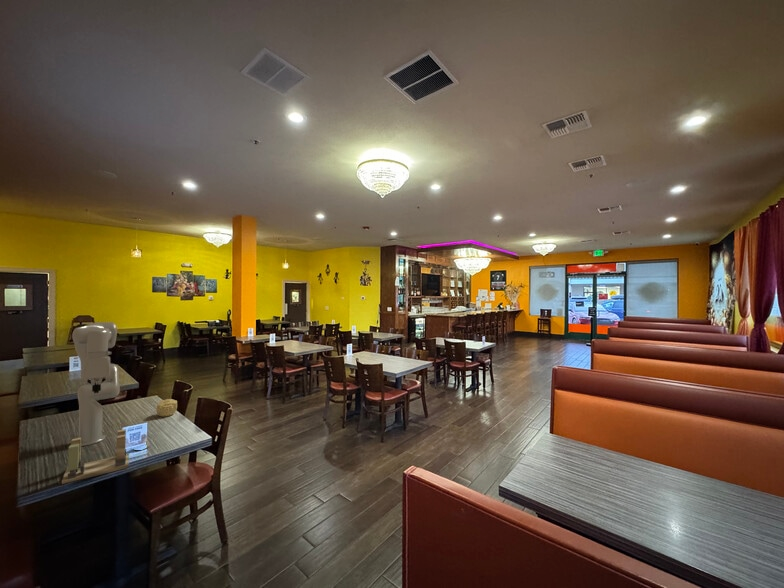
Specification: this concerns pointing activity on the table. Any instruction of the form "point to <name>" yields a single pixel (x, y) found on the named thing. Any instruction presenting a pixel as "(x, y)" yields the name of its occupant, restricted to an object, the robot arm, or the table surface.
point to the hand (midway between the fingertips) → (96, 392)
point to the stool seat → (99, 462)
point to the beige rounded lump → (166, 407)
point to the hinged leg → (73, 458)
